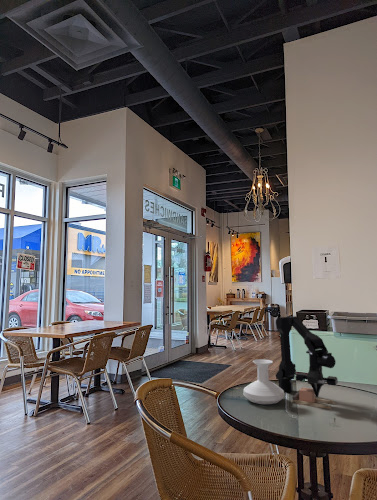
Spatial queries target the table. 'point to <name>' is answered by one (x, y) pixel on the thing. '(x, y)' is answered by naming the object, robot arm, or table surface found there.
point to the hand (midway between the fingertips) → (317, 396)
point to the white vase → (263, 386)
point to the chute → (296, 400)
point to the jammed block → (306, 395)
